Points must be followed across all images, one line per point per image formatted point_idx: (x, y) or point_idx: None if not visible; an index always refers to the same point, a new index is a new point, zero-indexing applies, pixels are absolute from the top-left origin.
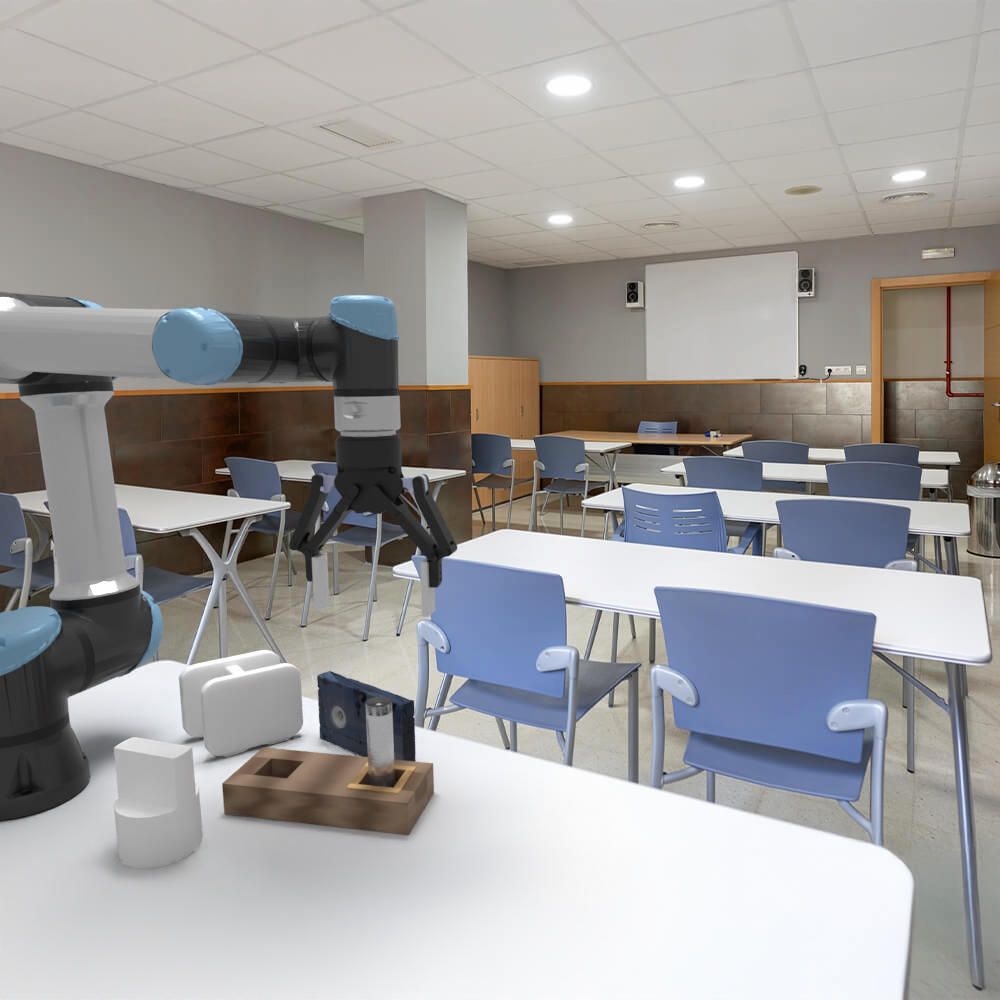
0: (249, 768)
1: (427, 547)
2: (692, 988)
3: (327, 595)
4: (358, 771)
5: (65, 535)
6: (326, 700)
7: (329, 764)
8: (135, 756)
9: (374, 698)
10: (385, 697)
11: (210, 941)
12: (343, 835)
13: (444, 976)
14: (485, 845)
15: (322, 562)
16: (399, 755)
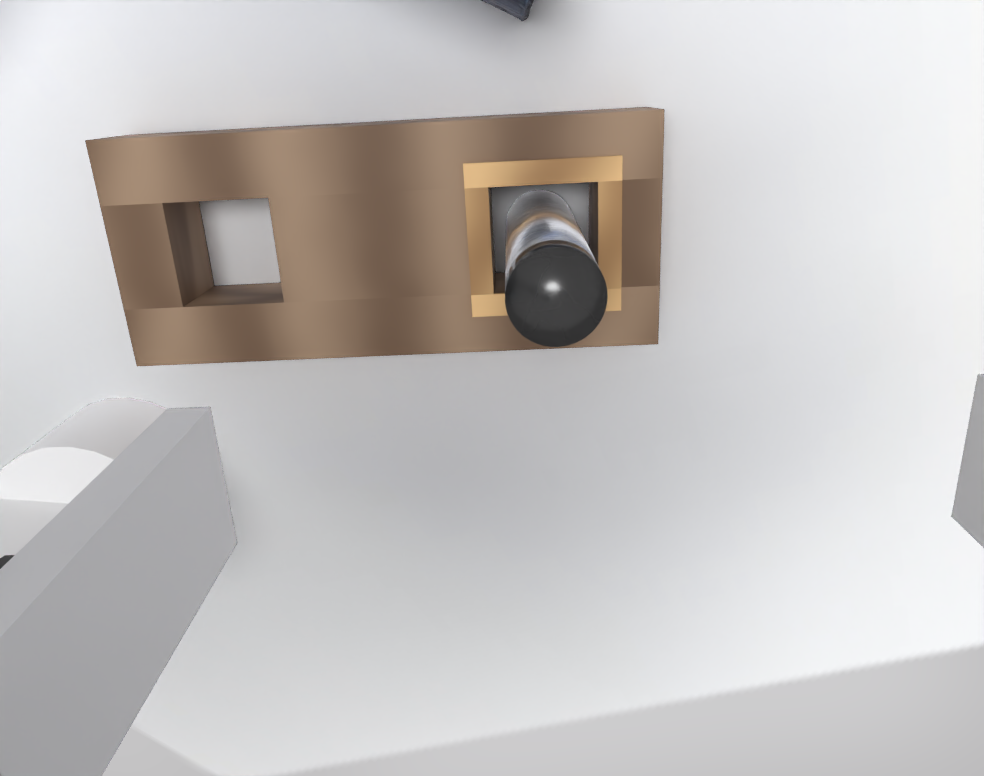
0: (145, 275)
1: None
2: None
3: (186, 462)
4: (459, 217)
5: None
6: None
7: (353, 197)
8: None
9: (527, 274)
10: (566, 253)
11: (426, 663)
12: (495, 354)
13: (817, 651)
14: (832, 316)
15: (53, 721)
16: (508, 7)
